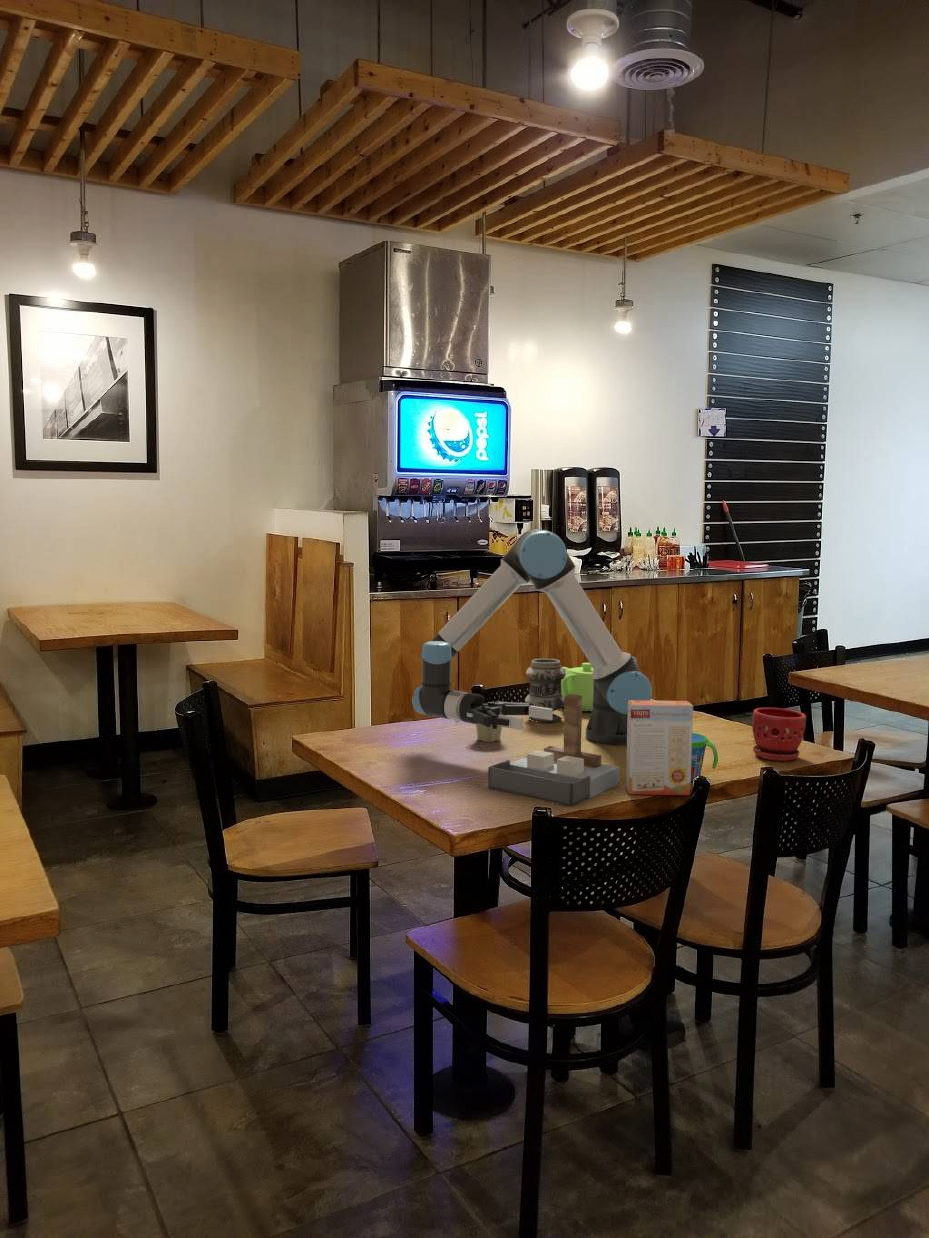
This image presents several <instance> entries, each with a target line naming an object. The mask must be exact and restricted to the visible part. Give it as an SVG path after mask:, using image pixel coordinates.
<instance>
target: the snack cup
mask: <svg viewBox="0 0 929 1238" xmlns="http://www.w3.org/2000/svg"><path fill="white" fill-rule="evenodd" d="M706 747H709V748H711V750H712V754H713V760H712V761H713V762H712V770H715V769H716V768H717V765H718V762H719V756H718V755H719V754H718V751H717V748H716V746H715V744H713V742H711V741H710V740H709V739H708V737H707V736H706V735H703V734H701V733H698V732H697V733H696V732H692V756H691V782H694V781H693V779H694V778H695V777H697V776H700V777H701V775H702V768H703V764H704V759H705V752H706Z"/></svg>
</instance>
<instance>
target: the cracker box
mask: <svg viewBox="0 0 929 1238" xmlns="http://www.w3.org/2000/svg"><path fill="white" fill-rule="evenodd" d="M693 715H694V705H693V704H692V703H691V702H689V700H650V701H649V700H629V701H628V721H627V744H626V774H625V779H626V780H625V788H626V791H627V792H628V795H630V796H631V795H635V796H637V795H640V796H641V795H642V796H645V795H646V796H649V795H650V796H691V785H692V784H691V782H692V781H691V756H692V733H693Z"/></svg>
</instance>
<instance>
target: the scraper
mask: <svg viewBox="0 0 929 1238" xmlns="http://www.w3.org/2000/svg"><path fill="white" fill-rule="evenodd" d="M563 715H564V716H563V717H564V719H563V724H564V725H563V747H559V746H553V745H549V746H546V747H544V748H543V751H545V752H550V753H554V761H557V759H560V758H562V757H565V756H572V757H577V758H582V759H584V766H585V767H590V768H597V767H599V766H601V764H602V755H601V754H596V753H591V752H585V751H582V724H583V723H582V721H583V711H582V696H581V695H574V694H570V695H567V696H565V707H564V713H563Z"/></svg>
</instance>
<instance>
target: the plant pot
mask: <svg viewBox="0 0 929 1238" xmlns="http://www.w3.org/2000/svg"><path fill="white" fill-rule="evenodd" d="M751 722H752V723H751V724H752V725H751V726H752V735H753V739H754V741H755V744H756V745H754V746H753V747H752V751H753V752H754V754H755V755H756V756H758V757H760V758H762V759H763V760H771V761H781V762H784V761H785V762H787V761H791V760H795V759H797V758H798V757H799V755H800V750H798V748H799V747H800V746H801V743H802V742H803V738H804V734H805V729H806V723H807V715H806V714H805V713H803V712H800V711H797V710H793V709H792V710H791V709H787V708H779V707H757V708H755V709H754V710H753V712H752V721H751ZM766 727H767V728H768V729H766ZM787 729H788V731H787Z"/></svg>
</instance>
